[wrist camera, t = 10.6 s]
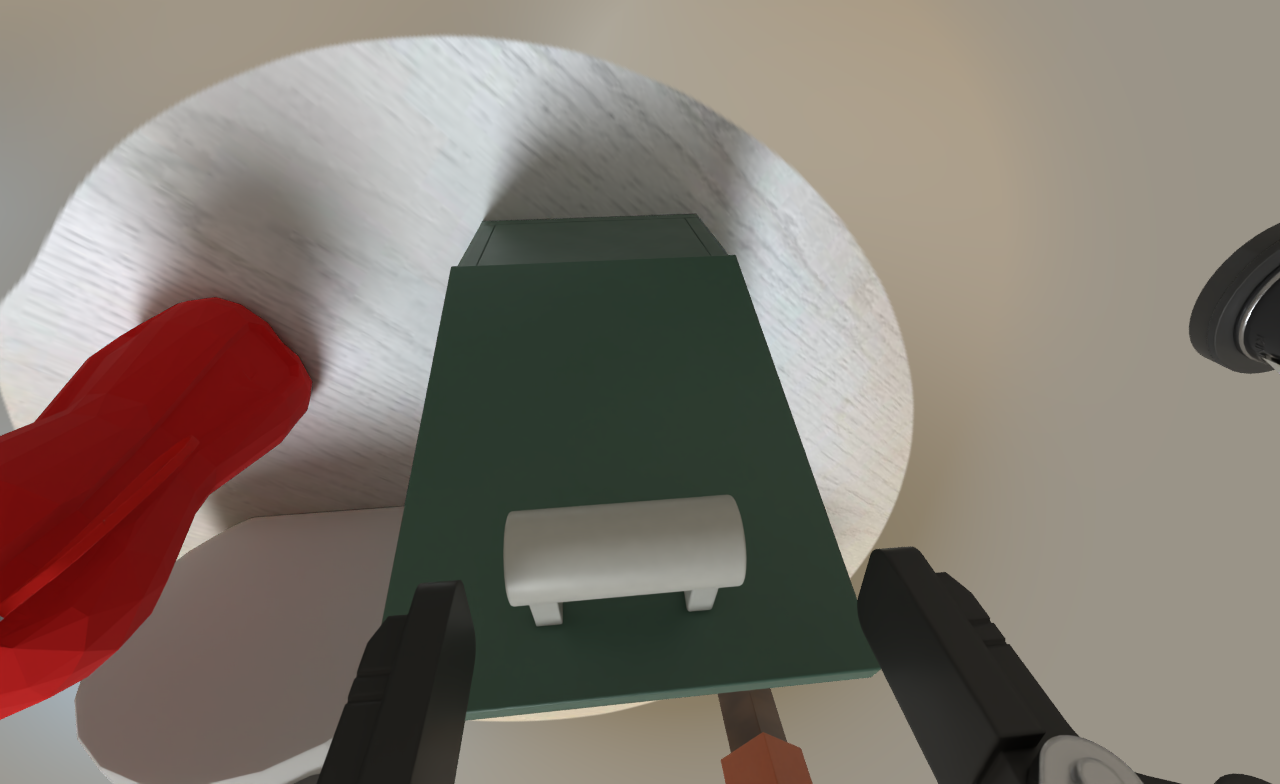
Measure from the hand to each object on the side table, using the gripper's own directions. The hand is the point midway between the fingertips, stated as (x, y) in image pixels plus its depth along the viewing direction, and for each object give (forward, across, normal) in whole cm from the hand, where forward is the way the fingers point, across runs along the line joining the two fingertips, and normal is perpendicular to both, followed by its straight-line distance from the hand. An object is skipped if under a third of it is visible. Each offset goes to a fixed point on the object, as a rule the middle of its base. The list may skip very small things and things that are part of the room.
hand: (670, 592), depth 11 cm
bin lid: (+9, +1, +2) cm, 10 cm away
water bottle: (+27, +24, +7) cm, 37 cm away
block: (+13, -9, +34) cm, 37 cm away
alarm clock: (+27, +21, +24) cm, 42 cm away
